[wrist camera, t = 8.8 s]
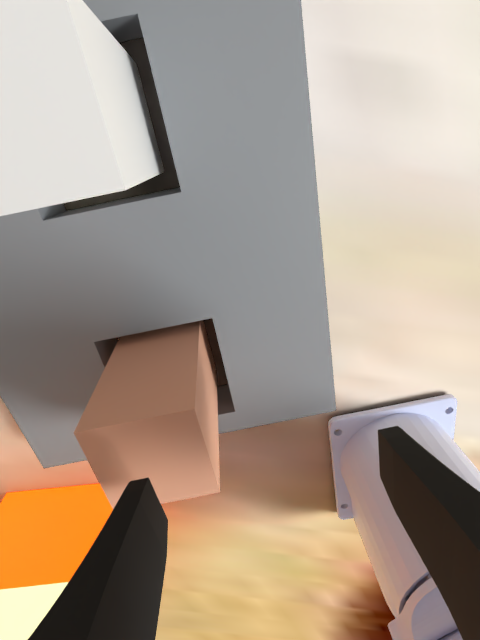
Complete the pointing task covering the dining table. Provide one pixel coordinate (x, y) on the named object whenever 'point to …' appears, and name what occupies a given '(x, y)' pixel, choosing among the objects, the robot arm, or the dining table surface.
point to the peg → (155, 415)
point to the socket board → (158, 205)
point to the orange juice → (43, 549)
